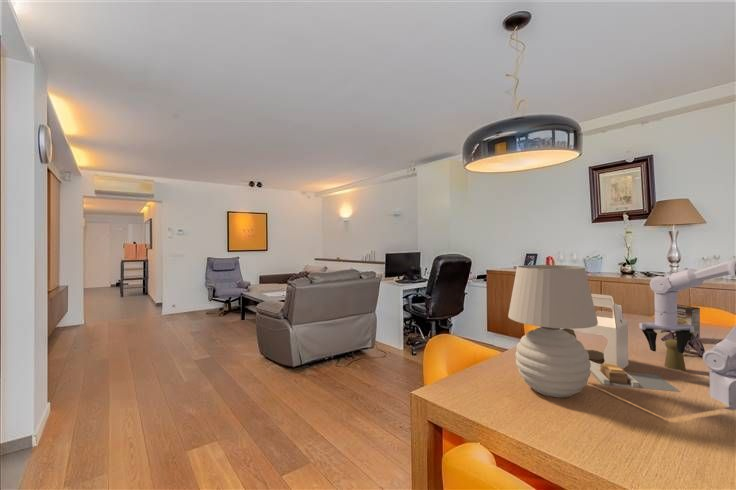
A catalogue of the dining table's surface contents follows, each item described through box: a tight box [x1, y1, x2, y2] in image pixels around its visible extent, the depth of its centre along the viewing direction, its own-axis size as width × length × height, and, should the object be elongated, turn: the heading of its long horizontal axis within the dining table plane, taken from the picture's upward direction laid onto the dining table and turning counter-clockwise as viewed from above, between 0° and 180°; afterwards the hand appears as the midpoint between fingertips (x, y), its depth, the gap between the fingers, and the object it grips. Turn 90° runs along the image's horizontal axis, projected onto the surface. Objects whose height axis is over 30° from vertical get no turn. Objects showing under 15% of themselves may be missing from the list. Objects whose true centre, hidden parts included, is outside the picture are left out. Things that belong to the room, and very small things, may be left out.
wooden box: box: [599, 362, 628, 384], centre depth 113 cm, size 8×5×4 cm, turn 163°
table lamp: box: [507, 264, 598, 399], centre depth 107 cm, size 25×25×40 cm
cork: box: [664, 339, 687, 373], centre depth 122 cm, size 6×6×11 cm
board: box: [590, 366, 682, 393], centre depth 112 cm, size 14×21×3 cm, turn 73°
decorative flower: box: [660, 330, 706, 358], centre depth 138 cm, size 15×12×15 cm
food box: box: [669, 303, 701, 341], centre depth 158 cm, size 9×6×16 cm
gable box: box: [560, 293, 629, 370], centre depth 130 cm, size 22×13×28 cm, turn 38°
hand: (666, 351), depth 113 cm, fingers open, 7 cm apart
